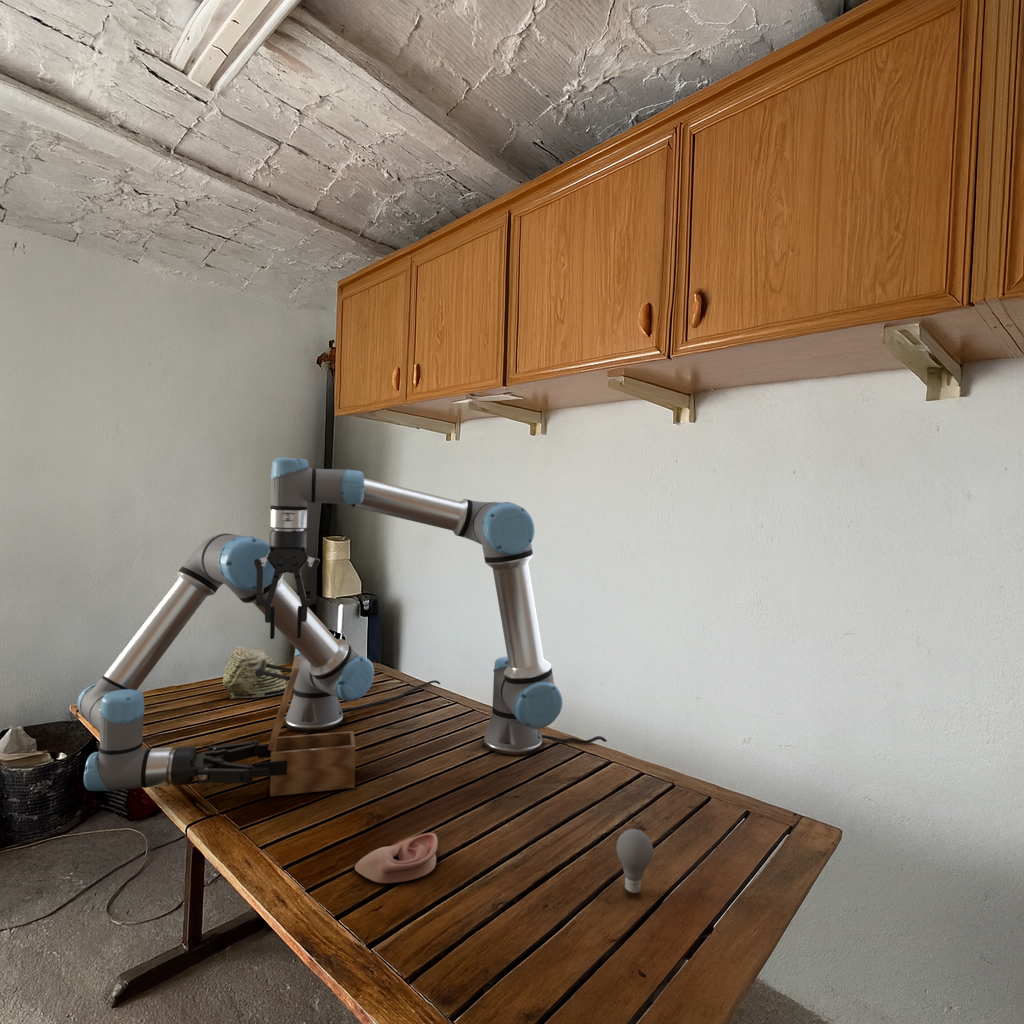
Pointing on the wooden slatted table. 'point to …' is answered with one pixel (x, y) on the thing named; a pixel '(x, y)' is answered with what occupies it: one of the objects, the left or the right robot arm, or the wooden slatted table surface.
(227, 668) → the fossil
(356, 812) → the wooden slatted table surface
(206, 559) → the left robot arm
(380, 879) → the anatomical model
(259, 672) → the lid
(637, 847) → the light bulb
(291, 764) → the chest
